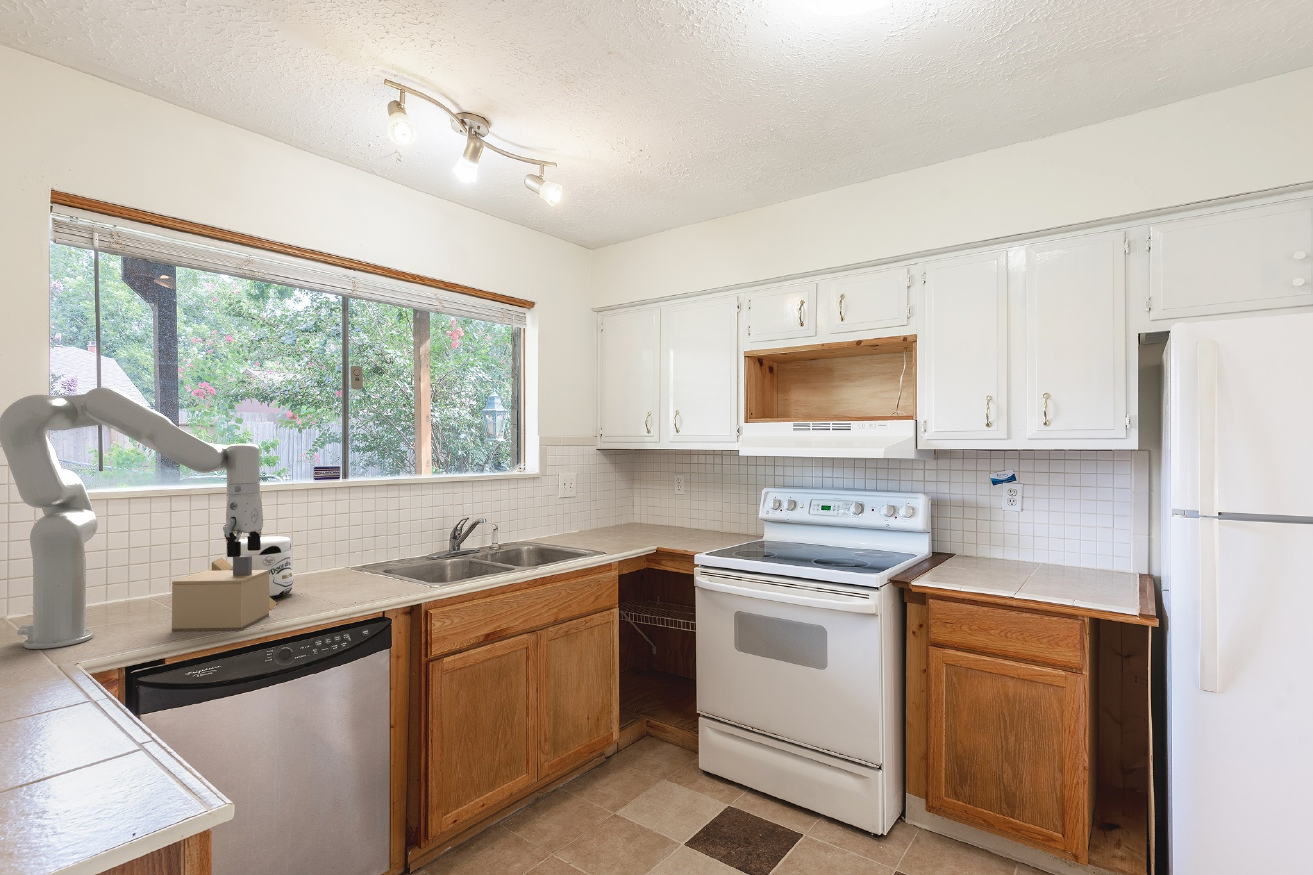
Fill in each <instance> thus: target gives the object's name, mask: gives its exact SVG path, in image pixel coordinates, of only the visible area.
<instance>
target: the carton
mask: <svg viewBox="0 0 1313 875" xmlns="http://www.w3.org/2000/svg"><path fill="white" fill-rule="evenodd" d="M268 617H270V610H269V573H268V574H265V575H262V576H260V577H257V578H255V579H252V580H249V581H247V582H244V583H242V584H171V632H172V633H174V632H181V633H182V632H226V631H227V632H229V631H234V632H235V631H237V632H239V631H240V632H241V631H243V630H245V629H247V628H249V627H251V626H253V625H255V624H256V623H258V622H260V620H261V621H262V620H264V619H266V618H268Z"/></svg>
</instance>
